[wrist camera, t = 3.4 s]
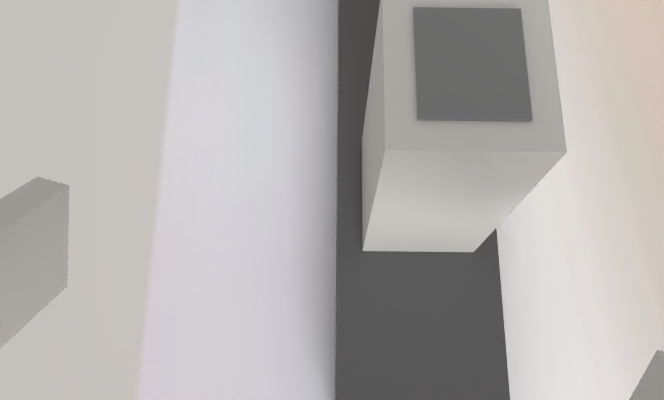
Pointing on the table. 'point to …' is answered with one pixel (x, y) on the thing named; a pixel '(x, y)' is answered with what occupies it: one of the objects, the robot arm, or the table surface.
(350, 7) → the power strip
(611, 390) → the table surface
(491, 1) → the block
